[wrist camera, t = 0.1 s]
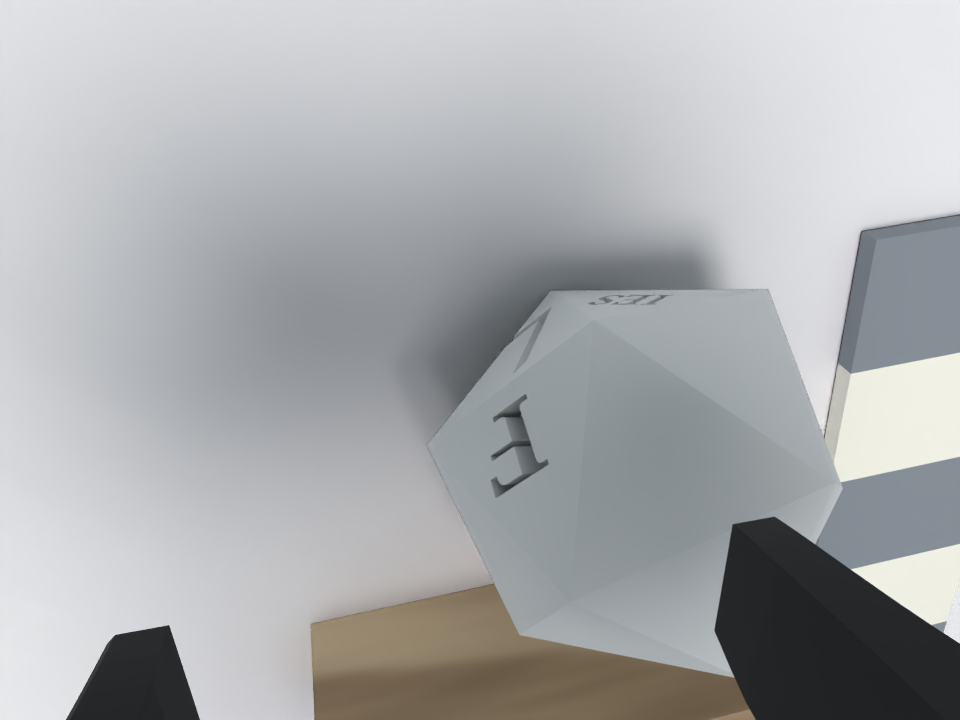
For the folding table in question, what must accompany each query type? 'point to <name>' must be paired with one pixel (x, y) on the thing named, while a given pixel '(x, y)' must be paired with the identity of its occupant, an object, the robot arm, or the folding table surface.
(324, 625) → the tan rectangular block
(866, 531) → the track
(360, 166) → the folding table surface
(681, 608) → the die
